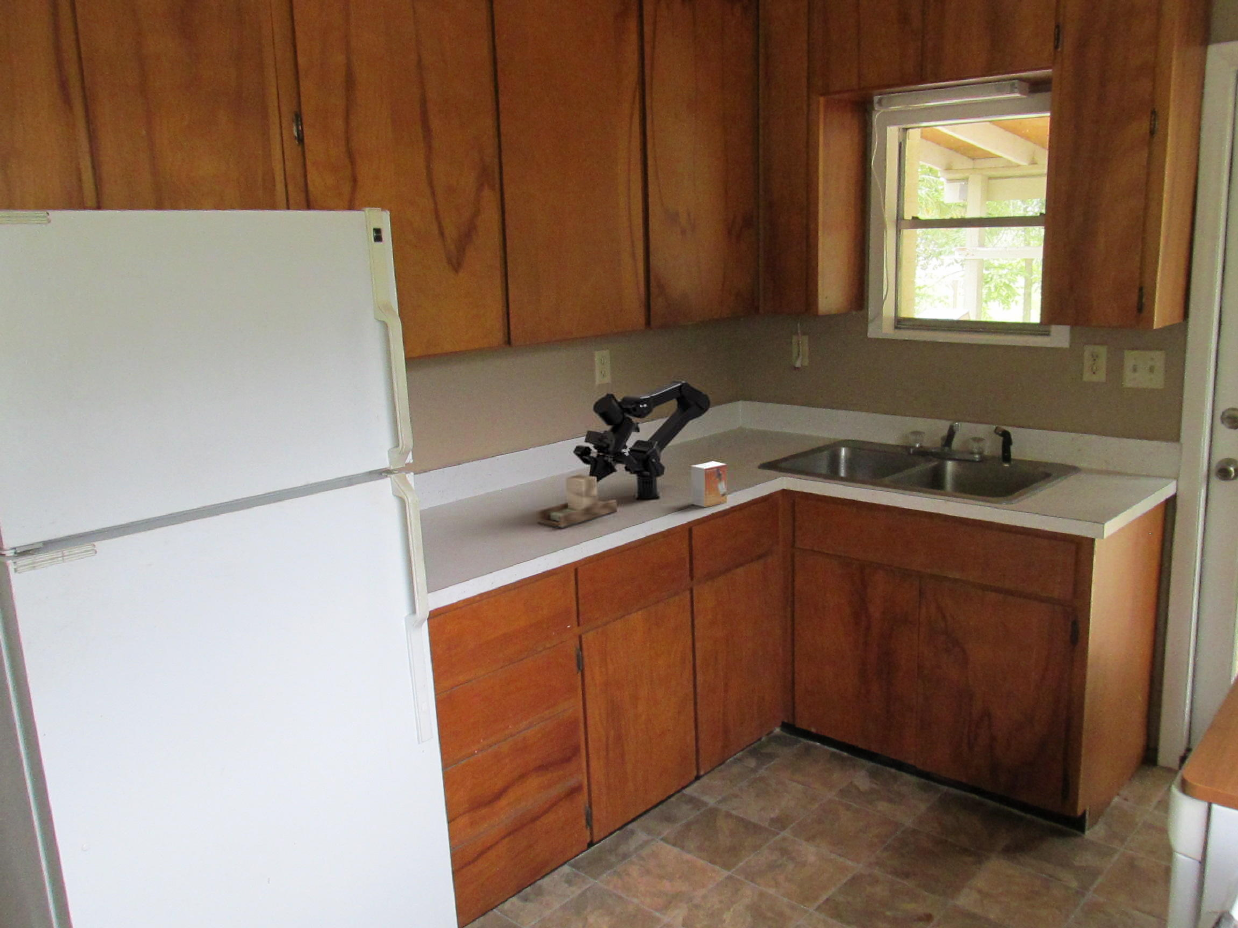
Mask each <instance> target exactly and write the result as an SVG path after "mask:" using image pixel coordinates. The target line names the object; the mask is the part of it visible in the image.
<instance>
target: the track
mask: <svg viewBox="0 0 1238 928" xmlns="http://www.w3.org/2000/svg"><path fill="white" fill-rule="evenodd" d="M617 505H618V504H617V499H613V500H608V501H600V500H598V505H594V506H591V507H588V508H584V509H581V510H574V509H569V508H568V502H565V503H562V504H557V505H555V506H550V507H546V508H543V509H540V510H537V512H536V515H537V524H539V525H543V526H547V525H548V527H552V528H556V529H560V530H564V529H567V528H571V527H573V526H576V525H580V524H583V523H587V522H590V521H593V520H596V519H599V518H603V517H606V516H609V515H612V514H615V513H617V512H618V509H617V508H618V507H617Z"/></svg>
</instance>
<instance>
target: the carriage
mask: <svg viewBox="0 0 1238 928" xmlns="http://www.w3.org/2000/svg"><path fill="white" fill-rule="evenodd" d="M565 480H566V481H565V482H566V498H567V499H566V500H567V502H568V508H569V509H574V510H581V509H584V508H588V507H591V506H594V505H598V501H599V500H598V499H599V498H598V485H597V484H598V482H597V477H592V476H589V475H587V474H576V475H573V476H569V477H566V478H565ZM567 502H566V503H567Z"/></svg>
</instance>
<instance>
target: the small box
mask: <svg viewBox="0 0 1238 928" xmlns="http://www.w3.org/2000/svg"><path fill="white" fill-rule="evenodd" d="M727 477H728V476H727V464H726V463H722V462H717V461H713V460H712V461H709V462H705V463H699V464H695V465H690V482H691V484H690V485H691V488H690V491H691V504H692V505H696V506H699V507H704V508H707V507H711V506H712V507H713V506H715V505H721V504H726V503H727V502H728V489H727V487H728V484H727V483H728V482H727V481H728V480H727Z"/></svg>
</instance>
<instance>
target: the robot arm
mask: <svg viewBox="0 0 1238 928" xmlns="http://www.w3.org/2000/svg"><path fill="white" fill-rule="evenodd" d="M708 395H709V394H707V393H704V392H702V390H699V389H697V388H695V387H694V386H692V385H690V384H689V382H687V381H685V380H672V381H670V382H668V383H667V384H665V385H662V386H660V387H657V388H655V389H653V390H652V389H651V390H649V391H648V392H645V393H636V394H635V393H634V394H629V395H624V396H623V397H622V398H621V400H618V399H617V397H616V396H615V394H614V393H608V392H607V393H606V394H605V395H604V396H603V397H600V398H599V399H598V400H597V401H595V402H594V404H593V407H592V410H593V412H594V414H595V415H596V416H598V418H599V419H600V420H601V421H602V422H603V424H604V425H606V426H607V427H609V429H608V430H603V432H600V431H594V430H586V434H585V438H584V442H583V443H585V444H590V445H591V446H592V448H593V449H592V448H591V447H590V446H589V445H582V444H578V445H576V446H575V448H574V449H573V452H572V453H573V454H574V455H575V457H577V459H579V461H581V462H582V464H584V465H588V466H589V473H588V476H592V477H597V483H599V482H601V481H602V480H604V479H605V478H607V477H609V476H610V475H611V474H613V473H617V472H618V469H617V467H618V466H620V465H624V466H623V468H624V470H625V472H627V473H629V474H630V475H636V476H635V477H636V491H635V494H634V495H635V499H636V500H650V499H653V500H655V499H661V495H660V491H658V488H659V485H658V478H661V476H664V475H665V469H666V467H665V466H664V464H663V463H661V459H662V457H661V456H662V452H663V451H664V450H665V449H666V447H667V446H668V445H669V444H670V443H672V441H673V440H674V439H675V438H676V437H677V436H678V434H680V432H682V430H683V429H684V428H685V427H686V426H687V425H688V424H689V422H691V421H694V420H696V419H699V418H701V417H703V416H704V415H705V414H706V413H708V412H709V410H710V407H711V399H710V397H709V396H708ZM672 400H674V401H675V402H676V410H674V412H672V414H671V415H670V416H669V417H668V418H667V419H666V420H665V422H663V423H662V425H660V426H659V428H658V429H657V430H655V432H654V433H653V434H652V435H651V436H650V437H649V439H647V440H642V439H637V440H636V441H635V442H634V443H633V444H632V445H631V446H630V447H629V446H628V445H627V442H628V441H629V439H630V437H631V436H632V434H633V433H637V434H638V433H640V432H641V429H640V428H641V427H640V426H639V422H638V421H634V420H633V419H632V418H634V419H641V420H642V419H645V418H646V417H648V416H650V414H651V413H652V412H653V411H654V409H655V408H657V407H660V406H662V405H664V404H666V403H669V402H671V401H672ZM627 449H628V451H623V450H627Z"/></svg>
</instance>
